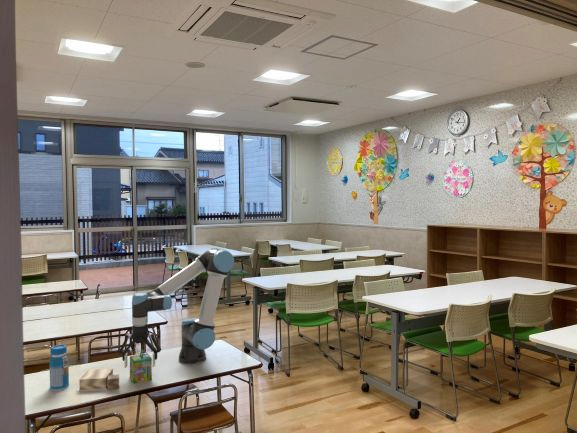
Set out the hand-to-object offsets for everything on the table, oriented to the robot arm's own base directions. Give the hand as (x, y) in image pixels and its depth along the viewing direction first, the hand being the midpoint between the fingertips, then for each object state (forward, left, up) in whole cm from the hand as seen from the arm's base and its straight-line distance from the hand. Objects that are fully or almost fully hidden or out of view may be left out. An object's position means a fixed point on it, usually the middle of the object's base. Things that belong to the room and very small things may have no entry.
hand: (140, 366), depth 221 cm
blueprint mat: (+17, +2, -7) cm, 18 cm away
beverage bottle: (+37, +5, -7) cm, 38 cm away
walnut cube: (+11, +9, -6) cm, 15 cm away
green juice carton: (0, 0, -7) cm, 7 cm away
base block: (+20, +4, -6) cm, 21 cm away
